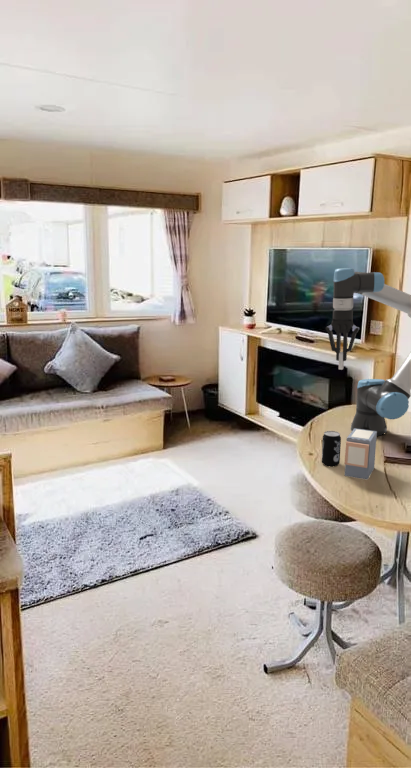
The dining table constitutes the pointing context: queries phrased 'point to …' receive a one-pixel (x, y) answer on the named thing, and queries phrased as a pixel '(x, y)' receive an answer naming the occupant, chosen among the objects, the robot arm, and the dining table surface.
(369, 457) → the block
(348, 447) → the stub
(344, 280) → the robot arm
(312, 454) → the dining table surface
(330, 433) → the beverage can
